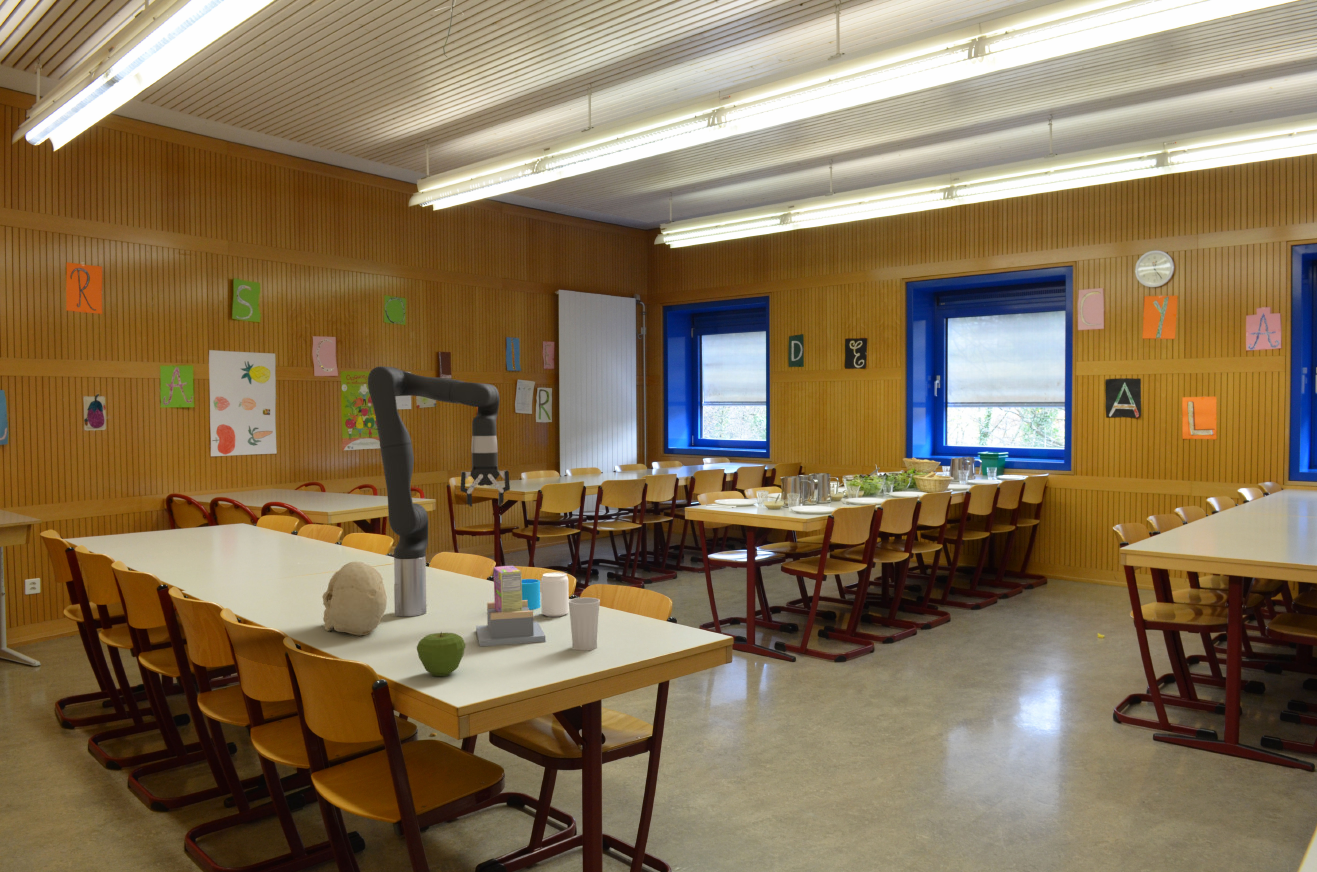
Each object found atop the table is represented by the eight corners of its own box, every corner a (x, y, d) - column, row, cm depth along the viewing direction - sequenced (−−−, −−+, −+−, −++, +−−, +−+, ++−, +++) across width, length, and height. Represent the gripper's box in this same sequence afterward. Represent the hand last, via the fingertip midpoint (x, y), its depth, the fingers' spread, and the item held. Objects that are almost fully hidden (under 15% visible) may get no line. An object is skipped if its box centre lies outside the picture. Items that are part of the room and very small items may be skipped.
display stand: (479, 646, 229) (479, 615, 228) (476, 631, 245) (475, 602, 245) (545, 641, 233) (545, 611, 233) (537, 626, 249) (537, 598, 249)
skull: (355, 617, 262) (356, 550, 260) (398, 636, 243) (398, 564, 242) (306, 625, 251) (306, 556, 250) (346, 646, 233) (347, 571, 232)
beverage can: (574, 613, 265) (573, 574, 265) (553, 618, 259) (553, 577, 259) (556, 609, 271) (556, 571, 270) (536, 614, 265) (535, 574, 265)
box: (493, 609, 243) (493, 566, 242) (514, 607, 245) (513, 565, 244) (501, 617, 233) (500, 572, 233) (522, 615, 235) (521, 571, 235)
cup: (588, 652, 221) (587, 605, 221) (562, 648, 226) (562, 601, 225) (606, 645, 228) (605, 599, 228) (581, 641, 232) (581, 596, 232)
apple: (469, 667, 210) (468, 625, 209) (460, 680, 199) (460, 636, 199) (423, 668, 209) (422, 626, 209) (412, 681, 199) (411, 637, 199)
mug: (545, 607, 275) (545, 581, 275) (524, 611, 269) (524, 584, 269) (522, 601, 284) (521, 576, 283) (501, 605, 278) (500, 580, 278)
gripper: (460, 452, 255) (461, 508, 256) (510, 451, 259) (510, 506, 259) (459, 451, 263) (460, 505, 263) (507, 450, 266) (508, 503, 267)
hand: (485, 505), depth 261 cm, fingers open, 8 cm apart
